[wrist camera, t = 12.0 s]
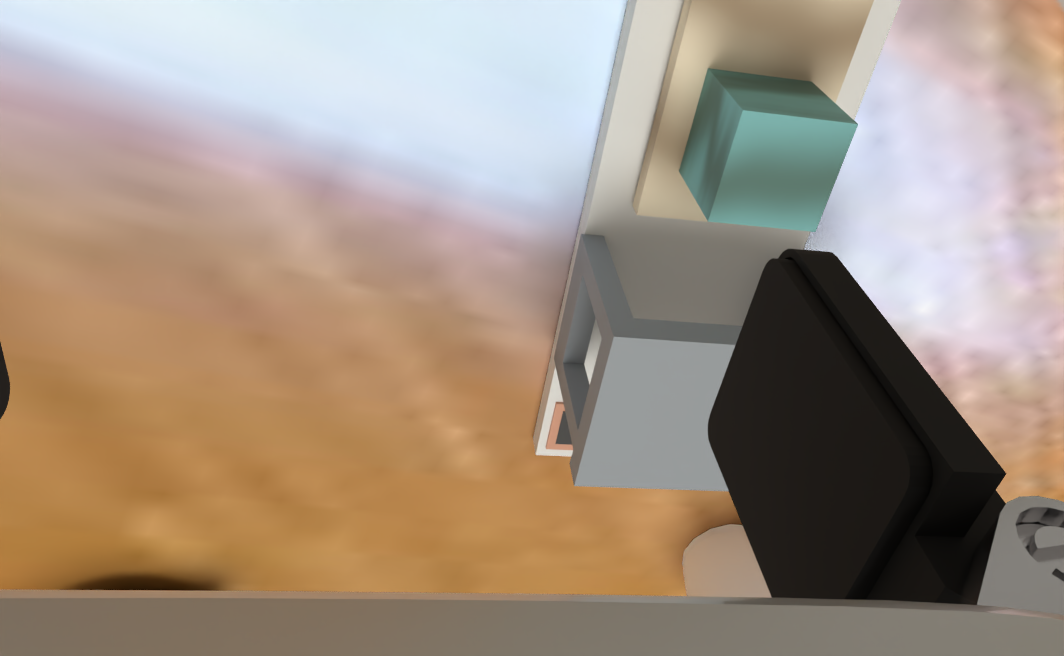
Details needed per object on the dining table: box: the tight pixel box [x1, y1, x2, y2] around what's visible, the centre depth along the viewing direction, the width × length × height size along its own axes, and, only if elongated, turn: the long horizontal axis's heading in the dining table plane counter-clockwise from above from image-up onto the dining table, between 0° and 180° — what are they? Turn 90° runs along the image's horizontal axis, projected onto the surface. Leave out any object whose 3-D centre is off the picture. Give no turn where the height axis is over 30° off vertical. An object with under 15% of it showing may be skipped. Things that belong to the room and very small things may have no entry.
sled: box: [632, 0, 874, 232], centre depth 34 cm, size 21×8×8 cm, turn 171°
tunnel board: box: [533, 0, 901, 491], centre depth 39 cm, size 38×13×11 cm, turn 171°
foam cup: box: [682, 524, 772, 598], centre depth 57 cm, size 10×9×13 cm
